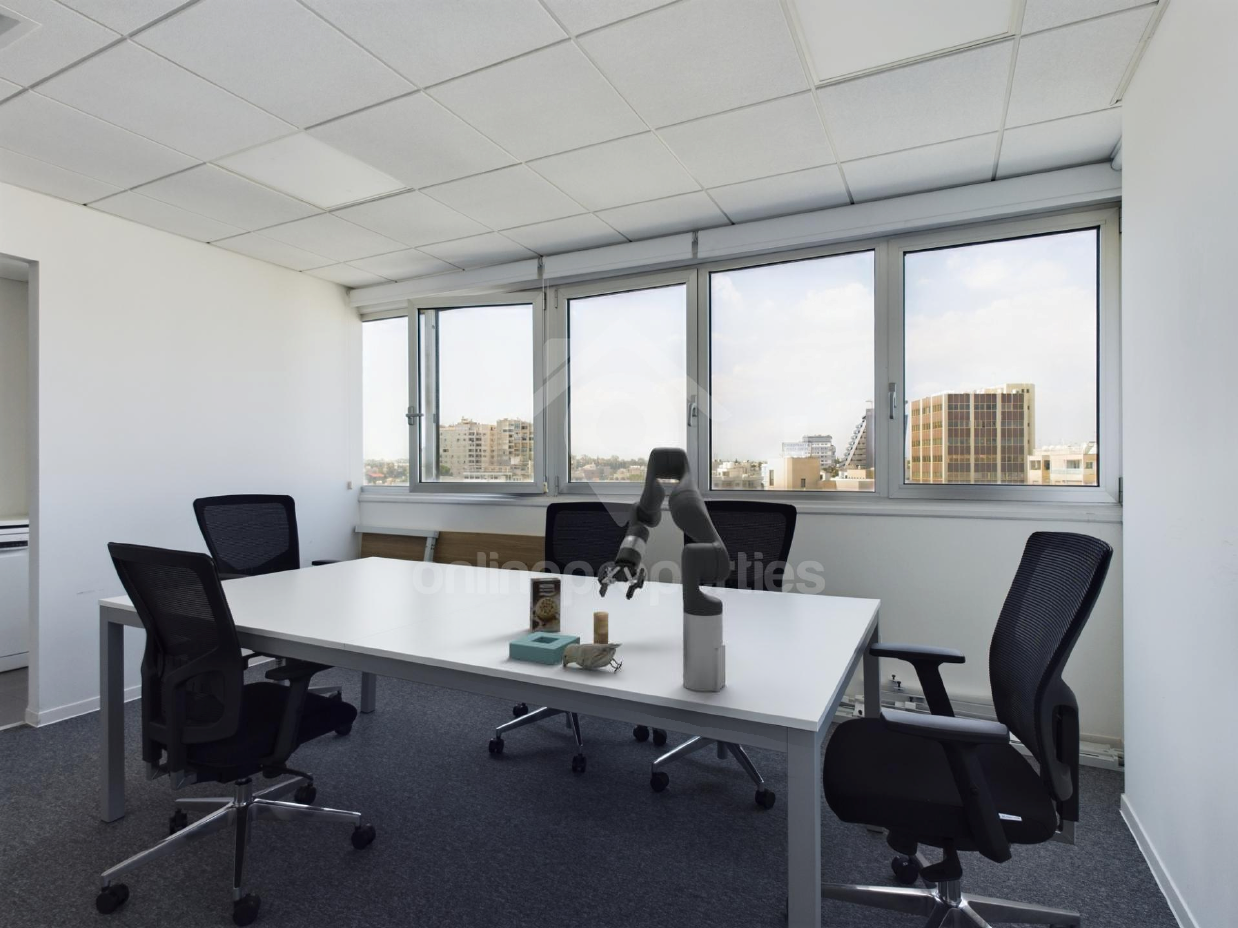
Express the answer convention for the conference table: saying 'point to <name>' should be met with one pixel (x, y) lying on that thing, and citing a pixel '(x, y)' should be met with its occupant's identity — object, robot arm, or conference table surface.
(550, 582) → the coffee box
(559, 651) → the socket block
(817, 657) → the conference table surface
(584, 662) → the decorative bird
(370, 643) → the conference table surface
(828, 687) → the conference table surface
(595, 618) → the peg
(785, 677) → the conference table surface
